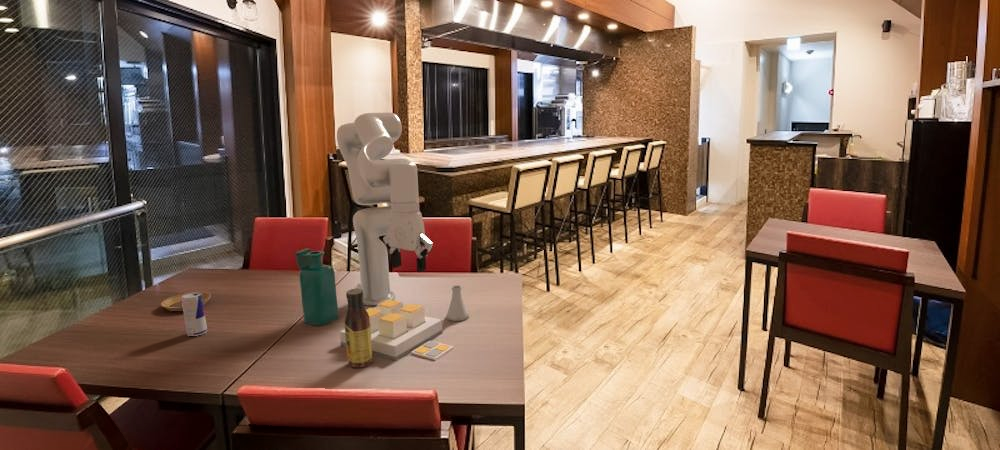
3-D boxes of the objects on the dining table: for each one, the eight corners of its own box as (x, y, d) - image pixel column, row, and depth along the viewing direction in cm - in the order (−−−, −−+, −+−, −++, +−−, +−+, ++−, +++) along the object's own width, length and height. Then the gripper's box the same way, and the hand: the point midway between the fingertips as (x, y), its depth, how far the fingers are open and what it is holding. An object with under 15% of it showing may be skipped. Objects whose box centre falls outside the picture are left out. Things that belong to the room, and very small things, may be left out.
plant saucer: (167, 318, 176) (166, 310, 175) (157, 306, 187) (156, 299, 186) (217, 306, 185) (216, 299, 185) (205, 296, 196) (204, 289, 196)
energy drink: (211, 331, 164) (206, 293, 162) (196, 338, 159) (190, 299, 157) (197, 329, 166) (192, 291, 163) (182, 336, 161) (176, 297, 159)
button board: (341, 344, 153) (340, 331, 152) (390, 320, 170) (389, 308, 169) (395, 360, 143) (394, 346, 142) (442, 332, 160) (441, 319, 159)
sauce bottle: (350, 358, 145) (344, 286, 140) (374, 357, 145) (369, 285, 141) (345, 370, 138) (339, 295, 134) (371, 368, 139) (365, 294, 134)
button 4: (399, 325, 156) (397, 309, 155) (410, 319, 160) (409, 303, 159) (413, 329, 153) (412, 312, 152) (425, 322, 158) (424, 306, 157)
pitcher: (341, 317, 173) (335, 249, 168) (322, 327, 166) (315, 256, 161) (317, 312, 177) (310, 246, 172) (297, 322, 170) (290, 253, 165)
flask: (465, 322, 167) (464, 291, 165) (443, 321, 168) (441, 290, 166) (471, 313, 174) (470, 283, 172) (449, 312, 175) (448, 282, 173)
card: (411, 353, 147) (411, 351, 146) (430, 342, 153) (429, 339, 153) (435, 360, 142) (435, 357, 142) (453, 348, 149) (453, 345, 149)
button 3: (379, 336, 149) (378, 318, 148) (392, 329, 154) (391, 312, 153) (393, 339, 147) (392, 322, 146) (406, 332, 151) (405, 315, 150)
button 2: (378, 320, 160) (376, 304, 159) (390, 314, 164) (389, 298, 163) (391, 323, 157) (390, 307, 156) (403, 317, 162) (402, 301, 161)
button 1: (357, 330, 153) (356, 313, 152) (371, 323, 158) (369, 307, 157) (371, 334, 151) (370, 316, 150) (384, 327, 155) (383, 310, 154)
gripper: (371, 207, 151) (376, 268, 155) (421, 212, 142) (425, 276, 146) (390, 202, 157) (394, 261, 161) (439, 207, 148) (442, 269, 152)
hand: (409, 268), depth 153 cm, fingers open, 8 cm apart
